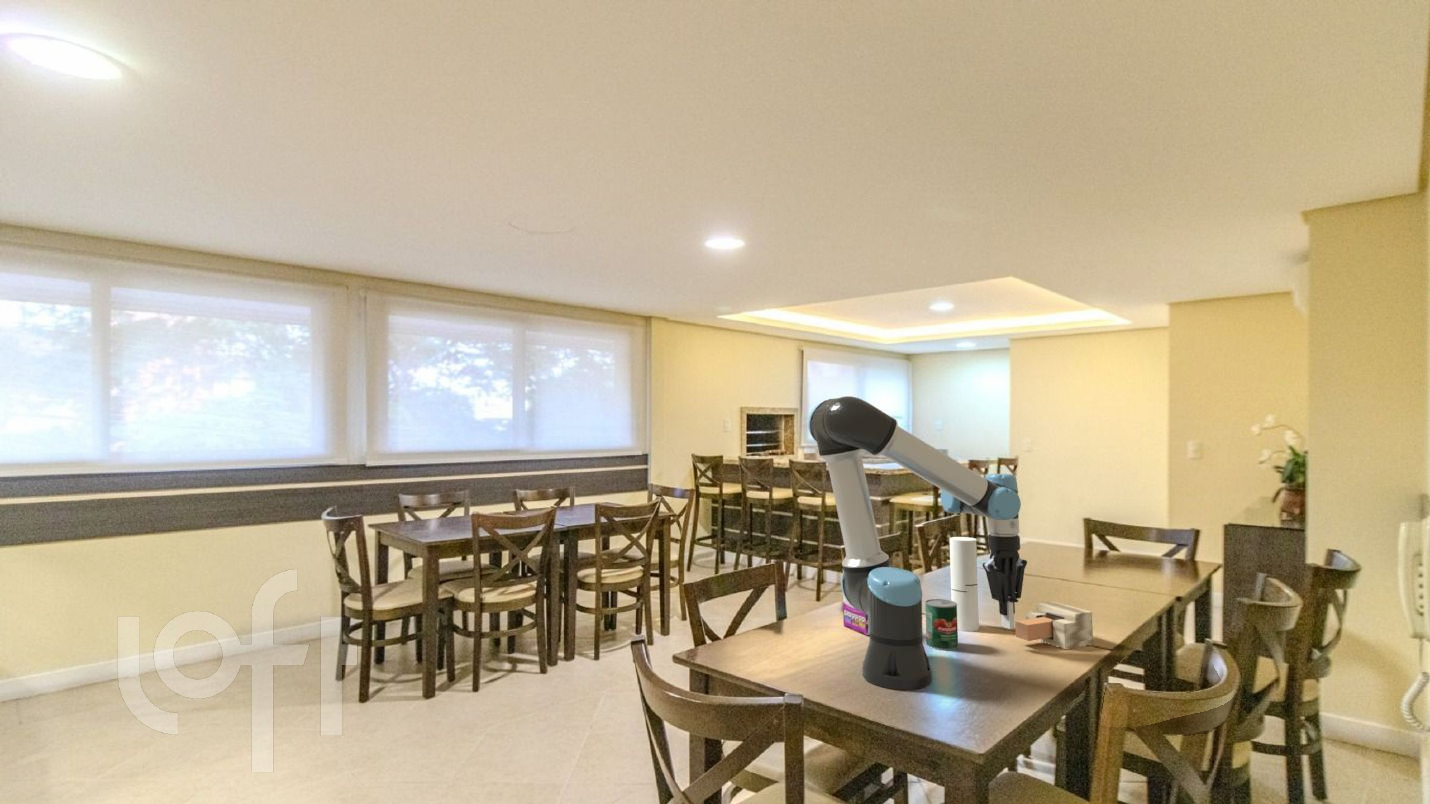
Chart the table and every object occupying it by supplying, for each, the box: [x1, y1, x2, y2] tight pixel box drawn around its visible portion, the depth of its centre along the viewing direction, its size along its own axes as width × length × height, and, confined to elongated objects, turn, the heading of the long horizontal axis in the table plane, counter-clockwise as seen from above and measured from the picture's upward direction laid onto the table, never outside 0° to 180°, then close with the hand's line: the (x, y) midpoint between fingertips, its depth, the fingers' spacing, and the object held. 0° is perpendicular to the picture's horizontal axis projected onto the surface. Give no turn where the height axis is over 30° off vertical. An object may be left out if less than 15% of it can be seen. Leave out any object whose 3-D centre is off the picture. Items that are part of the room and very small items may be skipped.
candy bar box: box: [842, 571, 870, 636], centre depth 184 cm, size 11×5×16 cm, turn 25°
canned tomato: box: [924, 598, 959, 651], centre depth 169 cm, size 8×8×11 cm
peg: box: [1014, 617, 1053, 642], centre depth 170 cm, size 10×4×4 cm, turn 112°
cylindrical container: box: [949, 536, 980, 632], centre depth 185 cm, size 7×7×25 cm
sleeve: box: [1025, 601, 1094, 650], centre depth 172 cm, size 10×12×8 cm
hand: (1007, 627), depth 166 cm, fingers closed
